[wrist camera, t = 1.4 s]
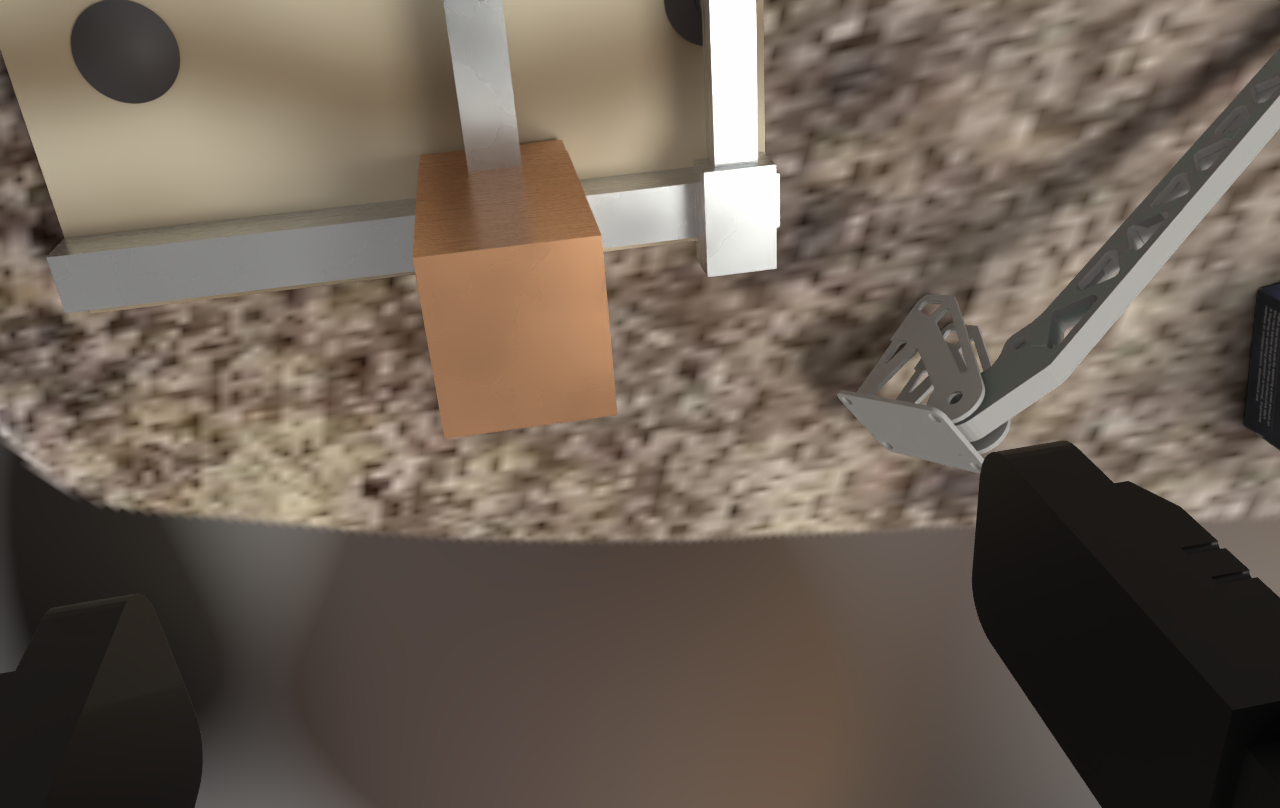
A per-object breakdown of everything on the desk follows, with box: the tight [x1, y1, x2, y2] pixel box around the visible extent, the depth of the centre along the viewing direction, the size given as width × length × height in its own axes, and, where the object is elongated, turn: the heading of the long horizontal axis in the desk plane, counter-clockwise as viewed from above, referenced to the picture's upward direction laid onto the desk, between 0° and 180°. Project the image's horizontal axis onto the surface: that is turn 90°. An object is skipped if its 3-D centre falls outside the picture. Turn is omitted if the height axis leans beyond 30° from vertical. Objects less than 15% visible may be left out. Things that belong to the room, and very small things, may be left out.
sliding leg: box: [413, 0, 617, 439], centre depth 26 cm, size 9×4×9 cm, turn 4°
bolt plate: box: [0, 0, 765, 314], centre depth 29 cm, size 12×20×1 cm, turn 94°
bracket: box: [837, 48, 1280, 473], centre depth 34 cm, size 3×21×10 cm, turn 131°
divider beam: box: [46, 0, 780, 313], centre depth 29 cm, size 8×20×3 cm, turn 94°
